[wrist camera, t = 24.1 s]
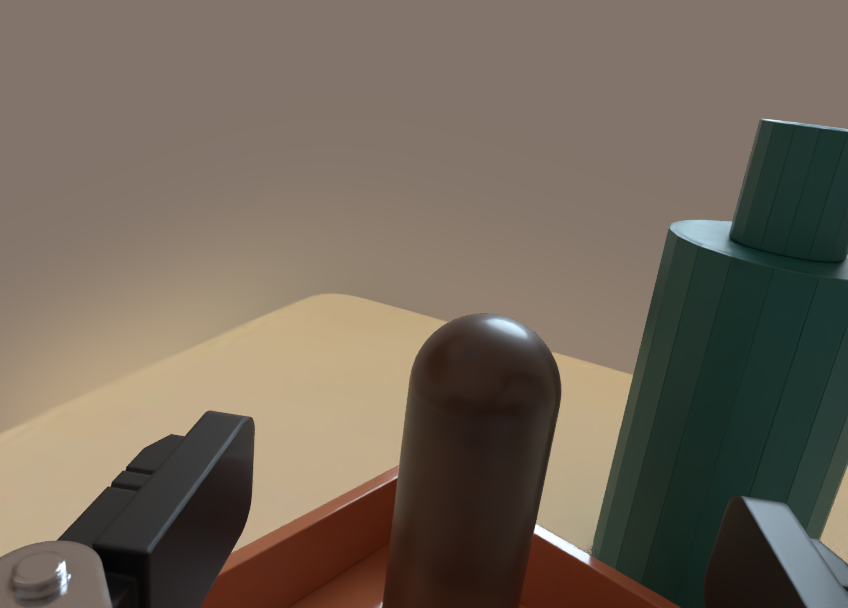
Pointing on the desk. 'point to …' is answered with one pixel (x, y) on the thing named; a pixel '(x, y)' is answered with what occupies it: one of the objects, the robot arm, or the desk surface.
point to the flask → (738, 368)
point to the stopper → (471, 465)
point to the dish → (368, 555)
